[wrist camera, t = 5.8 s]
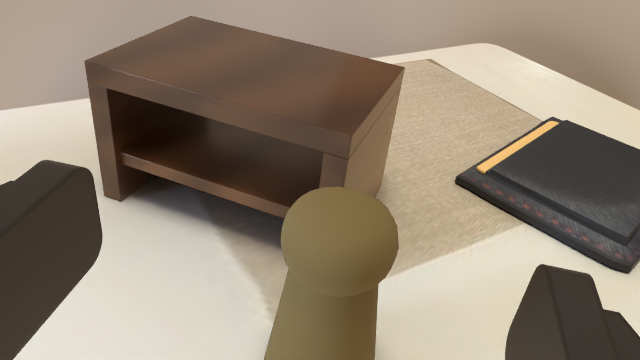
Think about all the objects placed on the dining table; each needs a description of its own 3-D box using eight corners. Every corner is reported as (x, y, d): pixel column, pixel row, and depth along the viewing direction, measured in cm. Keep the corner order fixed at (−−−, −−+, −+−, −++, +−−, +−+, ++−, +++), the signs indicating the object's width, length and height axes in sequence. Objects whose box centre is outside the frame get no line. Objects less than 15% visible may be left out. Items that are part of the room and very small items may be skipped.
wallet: (636, 258, 37) (453, 161, 45) (624, 278, 38) (447, 179, 46) (712, 169, 49) (557, 106, 58) (701, 185, 50) (551, 121, 59)
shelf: (103, 195, 39) (84, 60, 34) (194, 129, 49) (190, 15, 43) (329, 276, 35) (351, 136, 29) (380, 186, 44) (405, 67, 39)
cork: (339, 445, 25) (377, 277, 19) (238, 381, 28) (243, 213, 22) (391, 359, 30) (435, 200, 24) (301, 310, 32) (320, 154, 26)
